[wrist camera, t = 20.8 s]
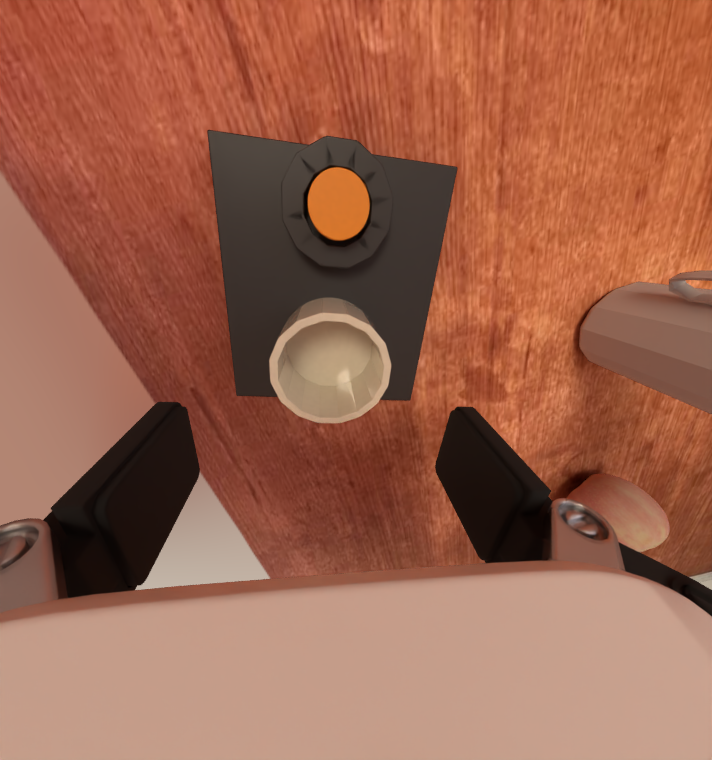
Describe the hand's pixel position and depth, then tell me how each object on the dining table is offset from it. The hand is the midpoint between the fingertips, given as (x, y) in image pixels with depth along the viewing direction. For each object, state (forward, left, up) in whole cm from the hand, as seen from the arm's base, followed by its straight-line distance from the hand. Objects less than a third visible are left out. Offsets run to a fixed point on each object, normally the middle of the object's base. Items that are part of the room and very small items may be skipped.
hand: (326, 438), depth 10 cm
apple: (+31, -17, -13) cm, 38 cm away
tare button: (0, +8, -10) cm, 13 cm away
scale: (0, +3, -13) cm, 14 cm away
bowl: (0, 0, -11) cm, 11 cm away
